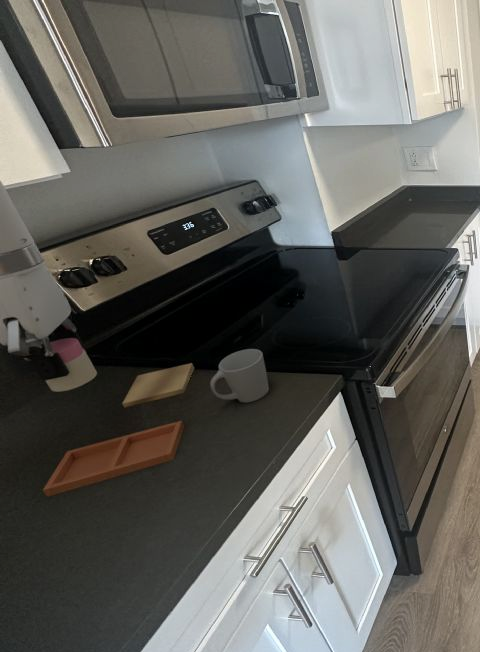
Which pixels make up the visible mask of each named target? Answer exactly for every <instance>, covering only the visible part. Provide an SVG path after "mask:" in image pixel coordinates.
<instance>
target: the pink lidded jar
mask: <svg viewBox="0 0 480 652" xmlns="http://www.w3.org/2000/svg"><path fill="white" fill-rule="evenodd" d="M50 343H51V346H52V349H53V353H57V352H58V354H59V355H60V357H61V359H62V360H63V362H64V364H65V365H66V367H67V369H68V370H69V374H68V375H67V376H64V377H60V378H55V379H50V380H46V381H45V383H46V384H47V386H48V387H49V389H50V390H51V391H52V392H57V393H58V392H65V391H70V390H75V389H77V388H79V387H81V386H83V385H85V384H87V383H89V382H91V381H92V380H93V379H95V378H96V376H97V375H98V372H97V370H96V369H95V366H94V364H93V362H92V361H91V359H90V357H89V356H88V355H89V354H87V352H85V350H84V349H83V348H82V346H81V345H80V343H79V341H78V339H76V338H65V339H60V340H56V341H53V342H52V341H50ZM39 347H40V348H42V347H41V345H40V346H39Z"/></svg>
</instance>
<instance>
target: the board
mask: <svg viewBox="0 0 480 652" xmlns="http://www.w3.org/2000/svg"><path fill="white" fill-rule="evenodd" d="M194 370H195V366H194V364H193V363H192V362H190V363H186V364H182V365H177V366H173V367H169V368H164V369H160V370H156V371H151V372H148V373H143V374H139V375H137V376H136V378H135V379H134V381H133V383H132V385H131V386H130V388H129V391H128V392H127V394H126V396H125V397H124V399H123V401H122V406H123V408H129V407H133V406H137V405H141V404H145V403H149V402H153V401H157V400H162V399H165V398H169V397H173V396H177V395H180V394H181V395H182V394H184V393H185V392H186V389H187V386H188V383H189V382H190V381H191V379H190V377H191V378H192V376H193V374H192V373H194ZM191 375H192V376H191ZM189 380H190V381H189Z"/></svg>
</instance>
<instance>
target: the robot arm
mask: <svg viewBox="0 0 480 652" xmlns="http://www.w3.org/2000/svg"><path fill="white" fill-rule="evenodd" d="M46 264H47V262H46V260H45V259H44V257H43V255H42V253H41V252H40V250H39V247H38V246H37V244H36V242H35V240H34V238H33V237H32V235H31V233H30V231H29V229H28V228H27V226H26V224H25V222H24V220H23V219H22V217H21V215H20V213H19V211H18V209H17V208H16V205H15V204H14V202H13V200H12V198H11V196H10V195H9V193H8V191H7V189H6V187H5V186H4V184H3V183H2V181H1V180H0V344H1V346H5V347H6V346H7V352H8V353H9V354H10V355H12V356H13V355H15V356H19V357H20V358H23V359H24V360H25V361H26V362H29V363H30V365H31V366H32V368H33V369H34V371H35V372H36V374H37V376H38V377H39V379H40V380H41V381H43V382H44V381H45V382H46V380H50V379H55V378H60V377H64V376H67V375H68V374H69V370H68V369H67V367H66V365H65V364H64V362H63V360H62V359H61V357H60V355H59V354H58V352H57V353H53V349H52V346H51V343H50V342H53V341H56V340H60V339H65V338H76V339H78V341H79V343H80V345H81V346H82V348H83V349H84V350H85V352H86V353H87V352H88V351H87V348H86V347H85V345H84V344H83V341H82V339H81V338H80V336H79V334H78V332H77V327H76V325H75V324H74V323H73V316H72V315H71V312H72V308H71V304H70V303H69V300H68V299H67V297H66V295H65V293H64V291H63V289H62V288H61V287H60V285H59V283H58V282H57V280H56V279H55V277H54V276H53V274H52V273H51V271H50V270H49V269H48V267H47V266H46ZM29 335H34V336H35V337H30V338H27V336H29ZM49 335H51V337H49ZM37 342H39V344H40V346H41V347H42V348H40V346H37V345H31V343H37Z"/></svg>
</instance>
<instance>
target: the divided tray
mask: <svg viewBox="0 0 480 652" xmlns="http://www.w3.org/2000/svg"><path fill="white" fill-rule="evenodd" d="M184 430H185V424H184V422H183V421H182V420H178V421H175V422H171V423H167V424H164V425H160V426H156V427H153V428H149V429H144V430H141V431H137V432H134V433H130V434H126V435H122V436H119V437H115V438H111V439H107V440H103V441H100V442H96V443H93V444H92V443H91V444H88V445H85V446H82V447H77V448H74V449H70V450H67V451H66V452H65V454H64V456H63V457H62V459H61V460H60V462H59V464H58V465H57V467H56V468H55V470H54V471H53V473H52V475H51V476H50V477H49V479H48V481H47V483H46V484H45V486H44V487H43V489H42V492H43V493H44V494H45V496H46V497H47V498H48V497H51V496H55V495H59V494H62V493H65V492H68V491H72V490H76V489H78V488H82V487H85V486H88V485H92V484H95V483H99V482H102V481H105V480H109V479H112V478H116V477H119V476H122V475H127V474H130V473H132V472H133V473H134V472H135V471H140V470H143V469H146V468H150V467H153V466H156V465H159V464H164V463H166V462H170V461H174V460H175V456H176V453H177V450H178V448H179V445H180V442H181V438H182V435H183V433H184Z"/></svg>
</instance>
